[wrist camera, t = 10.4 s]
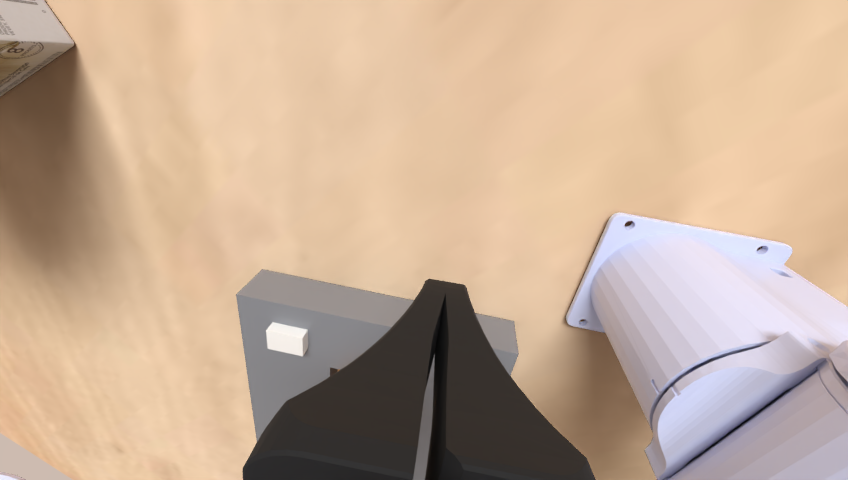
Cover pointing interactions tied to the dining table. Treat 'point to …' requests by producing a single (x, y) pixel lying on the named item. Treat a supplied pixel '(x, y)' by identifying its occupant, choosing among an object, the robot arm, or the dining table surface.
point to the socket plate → (327, 340)
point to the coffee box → (28, 40)
